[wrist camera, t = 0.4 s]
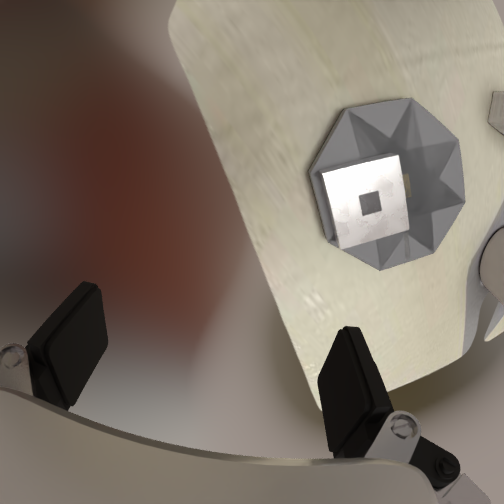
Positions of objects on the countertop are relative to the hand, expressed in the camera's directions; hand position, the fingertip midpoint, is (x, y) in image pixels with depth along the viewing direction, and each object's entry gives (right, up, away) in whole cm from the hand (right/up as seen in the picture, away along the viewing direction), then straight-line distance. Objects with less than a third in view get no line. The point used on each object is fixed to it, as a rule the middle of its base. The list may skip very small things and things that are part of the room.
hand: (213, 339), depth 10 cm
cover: (+14, +10, +21) cm, 28 cm away
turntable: (+19, +12, +23) cm, 32 cm away
